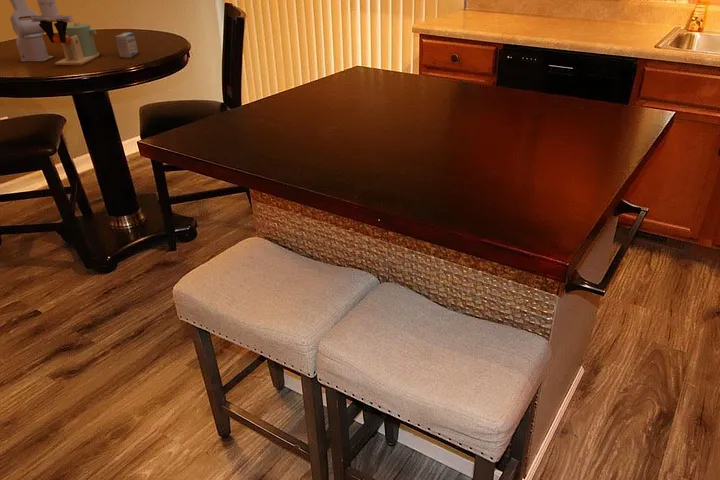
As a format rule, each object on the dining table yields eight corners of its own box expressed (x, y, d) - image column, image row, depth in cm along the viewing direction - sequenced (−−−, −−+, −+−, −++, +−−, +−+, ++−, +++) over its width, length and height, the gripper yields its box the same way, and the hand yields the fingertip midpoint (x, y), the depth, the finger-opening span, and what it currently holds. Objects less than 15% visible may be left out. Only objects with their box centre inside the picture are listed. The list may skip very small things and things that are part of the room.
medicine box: (131, 58, 233) (125, 36, 229) (120, 58, 233) (114, 36, 229) (138, 54, 240) (133, 32, 235) (128, 54, 240) (123, 32, 235)
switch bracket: (81, 66, 223) (73, 39, 217) (55, 65, 223) (47, 39, 217) (95, 58, 233) (88, 33, 227) (71, 58, 233) (63, 33, 228)
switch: (60, 43, 214) (58, 33, 214) (51, 43, 215) (49, 33, 214) (76, 46, 225) (75, 37, 224) (68, 46, 225) (66, 37, 224)
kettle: (68, 60, 231) (57, 24, 223) (81, 54, 240) (71, 19, 233) (96, 60, 231) (87, 25, 223) (109, 54, 240) (100, 20, 233)
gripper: (21, 4, 206) (34, 44, 213) (60, 5, 206) (72, 44, 213) (32, 1, 212) (44, 40, 219) (70, 2, 212) (81, 40, 219)
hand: (58, 42), depth 216 cm, fingers closed on switch, 3 cm apart
